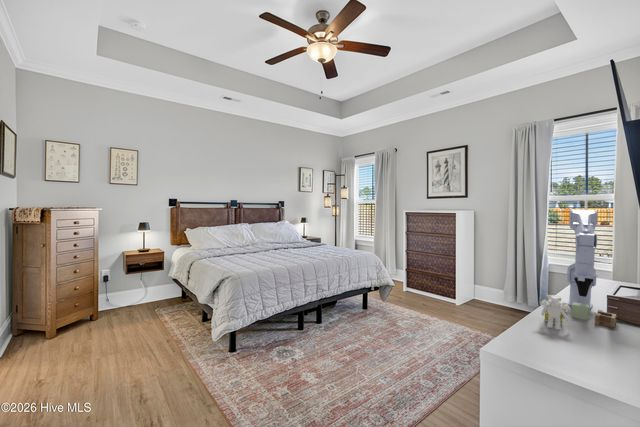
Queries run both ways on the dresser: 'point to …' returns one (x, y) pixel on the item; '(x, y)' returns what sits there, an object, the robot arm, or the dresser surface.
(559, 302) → the blocky character figurine
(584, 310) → the sage block
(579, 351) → the dresser surface
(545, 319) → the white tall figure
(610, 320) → the walnut channel
